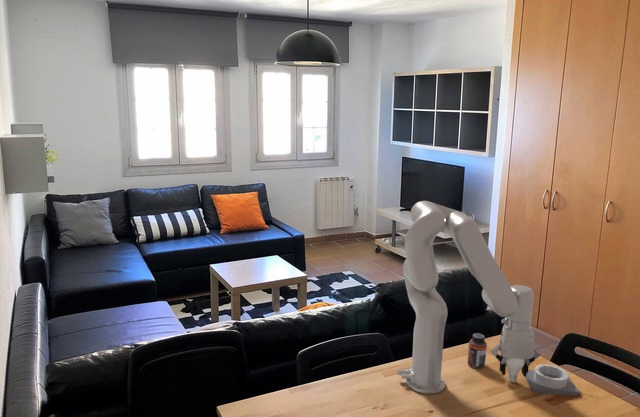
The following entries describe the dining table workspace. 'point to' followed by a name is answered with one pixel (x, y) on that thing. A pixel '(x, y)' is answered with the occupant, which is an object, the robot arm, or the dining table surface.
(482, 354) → the supplement bottle
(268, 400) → the dining table surface
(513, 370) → the lightbulb
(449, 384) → the dining table surface
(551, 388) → the socket holder
